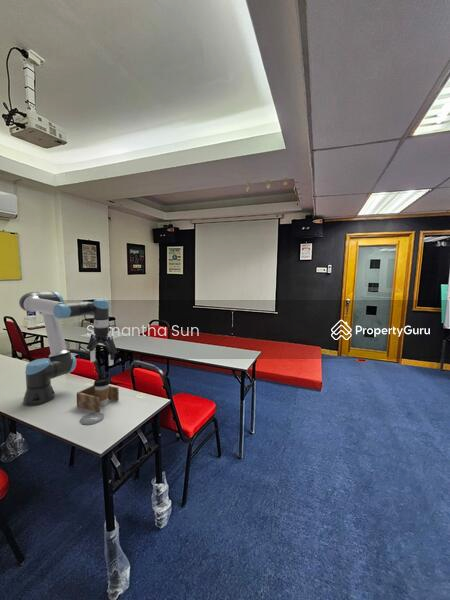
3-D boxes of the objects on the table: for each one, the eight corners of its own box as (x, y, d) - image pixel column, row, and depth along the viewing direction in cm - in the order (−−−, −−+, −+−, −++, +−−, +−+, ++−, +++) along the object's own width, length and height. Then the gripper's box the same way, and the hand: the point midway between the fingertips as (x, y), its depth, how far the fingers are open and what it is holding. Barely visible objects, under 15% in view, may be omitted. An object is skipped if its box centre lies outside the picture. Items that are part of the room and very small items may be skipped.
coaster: (75, 421, 131) (75, 420, 131) (93, 411, 141) (93, 410, 141) (91, 426, 127) (91, 425, 127) (108, 415, 137) (108, 414, 137)
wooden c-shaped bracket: (76, 406, 146) (76, 392, 145) (98, 395, 160) (98, 382, 159) (98, 412, 140) (97, 398, 139) (118, 400, 154) (118, 387, 153)
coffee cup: (103, 408, 144) (103, 382, 143) (90, 406, 146) (90, 381, 144) (113, 401, 152) (112, 377, 151) (100, 400, 154) (100, 375, 153)
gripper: (79, 325, 146) (80, 362, 148) (113, 330, 137) (113, 368, 139) (90, 323, 153) (91, 358, 155) (123, 327, 144) (124, 364, 146)
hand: (101, 363), depth 147 cm, fingers open, 13 cm apart
